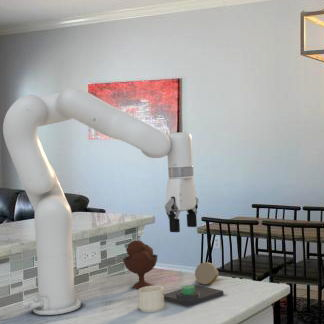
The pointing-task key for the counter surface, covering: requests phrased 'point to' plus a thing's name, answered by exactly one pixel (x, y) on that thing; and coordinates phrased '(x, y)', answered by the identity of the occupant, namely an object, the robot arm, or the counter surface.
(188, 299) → the scale
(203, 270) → the mug
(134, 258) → the ice cream bowl
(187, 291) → the button
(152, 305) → the cream cup
